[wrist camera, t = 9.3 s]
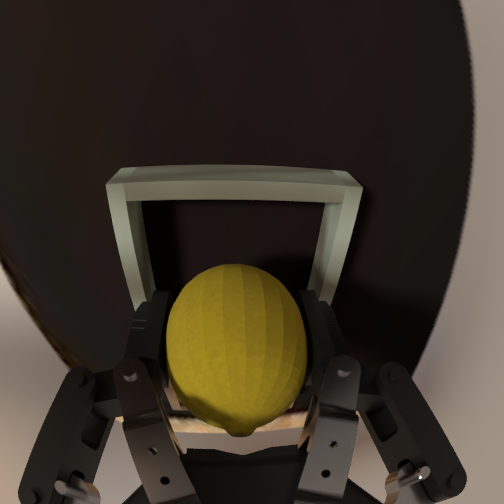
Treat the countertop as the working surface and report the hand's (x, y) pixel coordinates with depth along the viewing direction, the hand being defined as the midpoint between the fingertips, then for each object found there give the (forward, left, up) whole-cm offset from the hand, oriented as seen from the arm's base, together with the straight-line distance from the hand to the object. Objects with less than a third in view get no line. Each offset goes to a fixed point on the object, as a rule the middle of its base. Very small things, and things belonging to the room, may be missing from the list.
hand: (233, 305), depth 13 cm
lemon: (0, 0, -2) cm, 2 cm away
